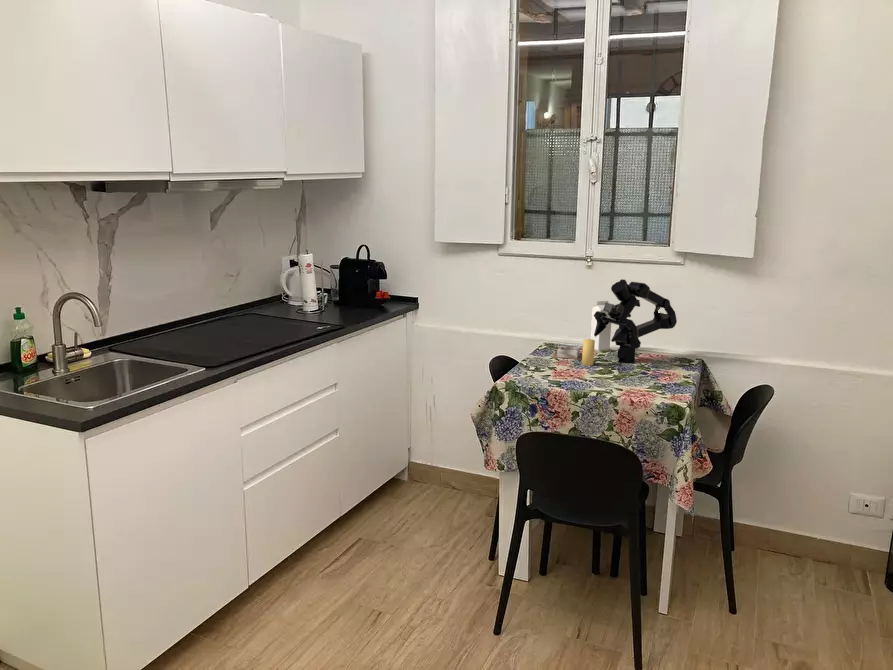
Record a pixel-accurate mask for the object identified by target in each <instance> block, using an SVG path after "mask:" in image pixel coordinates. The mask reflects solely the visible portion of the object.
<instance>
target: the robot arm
mask: <svg viewBox="0 0 893 670" xmlns="http://www.w3.org/2000/svg"><path fill="white" fill-rule="evenodd" d="M610 289H611V292H612V293H613V295H614V296H615V298H616V299H617V300H618V301H620V302H619V303H617V304H613V303H610V302H608V303H606V304H605V306H604V309H603V310H604V311H607V312H608V315H609V316H610V317H607V315H606V314H605V313H604V312H600V311H596V313H595V314H594V317H595V319H596V320H597V325H596V329H595V333H594V336H595V337H596V336H597V335H599V334H600V333H601V332H602V331H603V330H604V329H605V328H606V327H607V326H606V325H608V324H609V323H611V324H613V325H616V326H618V328H616V330H615V332H614V334H613V336H612V338H611V339H610V342H612V343H614V342H615V346H619V348H617V355H616V356H617V357H616V358H617V360H618V361H617V362H618V363H625V364H626V363H629V364H635V362H636V351H637V350H638V349H639V348H641V344H642V341H640V339H639V338H640V337H643V336H645V335H648V334H651V333H654V332H655V331H658V330H668V329H669V330H672V329H673V328H675V327H676V325H677V321H678V320H677V315H676V311H675V310H674V308H673V307H672V305H671V301H670V299H668V298H665V297H664V296H662V295H660V294H658V293H656V292H654V291H653V290H651V289H650V286H649V285H648V284H646V283H644V282H639V281H638V282H637V281H630V282H629V284H628V282H627V280H626V279H620V280H619V281H617V282H615V283H614V284H612V285H611V288H610ZM637 298H641V299H642V300H645V301H647V302H649V303H651V304H652V305H654V307H655V308H654V312H653V317H652V318H653V319H651V320H648V321H646V322H643V323H641V324H638V325H636V324H635V322H634V321H633V320H632V319H631V317H632V315H631V313H632V311H634V309H635V308H636V307H638V308H639V307H641V302H640V301H641V300H640V299H637ZM661 308H662V309H664V311H665V312H666V313H665V314H664V313H663V312H660V313H658V310H659V309H660V310H661ZM629 318H630V319H629Z"/></svg>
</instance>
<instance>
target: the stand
mask: <svg viewBox="0 0 893 670" xmlns="http://www.w3.org/2000/svg"><path fill="white" fill-rule="evenodd" d="M580 349H581V348H580V346H567V345H566V346H565V345H560V346H558V348H557V349H556V351H555V352H554V353H553V355H552V356H551V358H552V359H562V360H576V361H582V353H580V352H581V351H580Z"/></svg>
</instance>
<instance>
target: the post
mask: <svg viewBox="0 0 893 670" xmlns="http://www.w3.org/2000/svg"><path fill="white" fill-rule="evenodd" d="M582 340H583V341H582V353H581V354H582V360H581V365H582V366H587V367H588V366H589V367H591V366H594V363H595V362H594V361H595V349H594V346H595V340H592V339H591V338H587V339H586V338H584V339H582Z"/></svg>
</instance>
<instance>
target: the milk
mask: <svg viewBox="0 0 893 670" xmlns="http://www.w3.org/2000/svg"><path fill="white" fill-rule="evenodd" d="M606 303H609V300H600V301H596V305H595V306H593V307H592V308H591V309H592V310H591V325H590V326H591V327H590V339H592V340H595V346H594V351H607V350H610V349H611V333H612V323H609V324H608V325H606V326H607V327H606V328H605V329H604V330H603V331H602V332H601V333H600V334H599V335H597V336H596V337H595V336H594V333H595V329H596V325H597V320H596V319H595V317H594V314H595V313H596V311H600V312H604V313H605V314H606V315H607V317H610V316H609V315H608V312H607V311H604V310H603V309H604V306H605V304H606Z"/></svg>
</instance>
